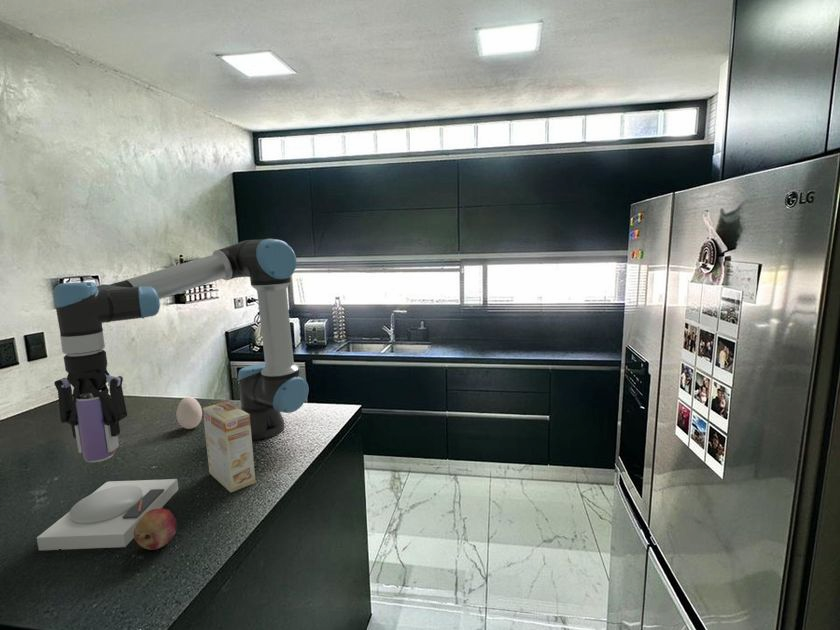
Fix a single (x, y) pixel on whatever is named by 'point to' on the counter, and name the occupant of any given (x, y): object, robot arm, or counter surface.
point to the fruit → (155, 529)
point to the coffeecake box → (229, 445)
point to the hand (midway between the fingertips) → (99, 449)
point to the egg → (189, 413)
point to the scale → (107, 515)
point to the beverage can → (92, 429)
